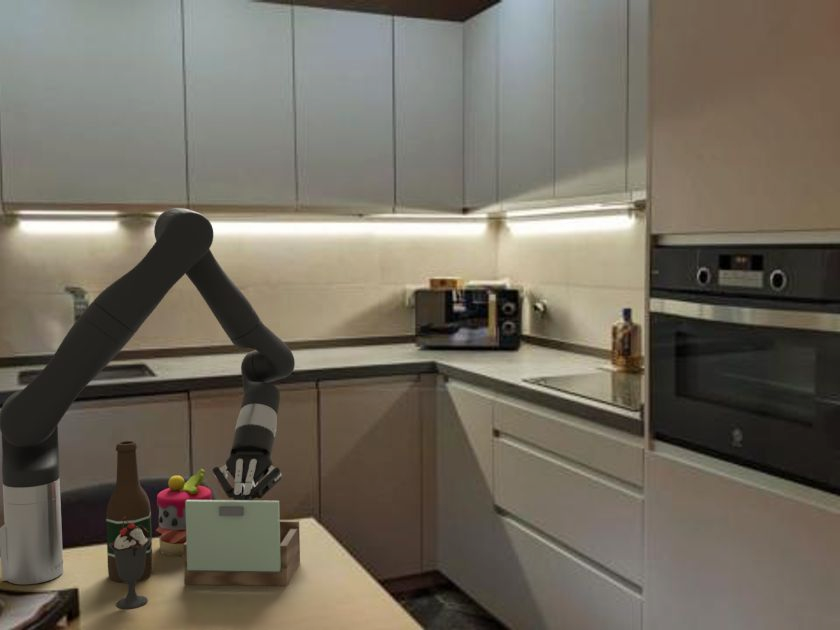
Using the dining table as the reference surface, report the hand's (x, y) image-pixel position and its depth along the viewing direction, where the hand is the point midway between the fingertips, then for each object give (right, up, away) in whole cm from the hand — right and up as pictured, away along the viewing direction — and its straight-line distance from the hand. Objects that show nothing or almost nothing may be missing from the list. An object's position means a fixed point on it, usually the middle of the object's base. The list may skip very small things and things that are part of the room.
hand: (239, 517), depth 154 cm
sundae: (-16, -12, -10) cm, 22 cm away
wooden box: (0, -11, +3) cm, 11 cm away
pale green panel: (0, -8, -3) cm, 9 cm away
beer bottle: (-20, -11, +2) cm, 23 cm away
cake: (-14, -10, +17) cm, 24 cm away
